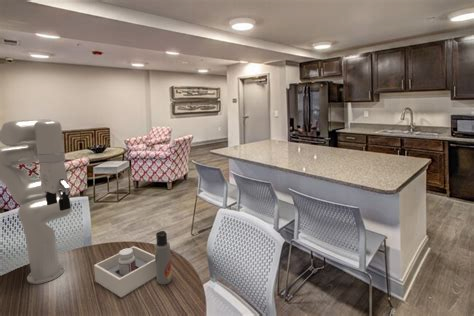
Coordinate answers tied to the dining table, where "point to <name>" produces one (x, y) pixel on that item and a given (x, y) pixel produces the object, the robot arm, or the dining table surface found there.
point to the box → (120, 285)
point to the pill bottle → (126, 261)
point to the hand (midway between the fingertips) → (58, 206)
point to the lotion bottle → (163, 258)
